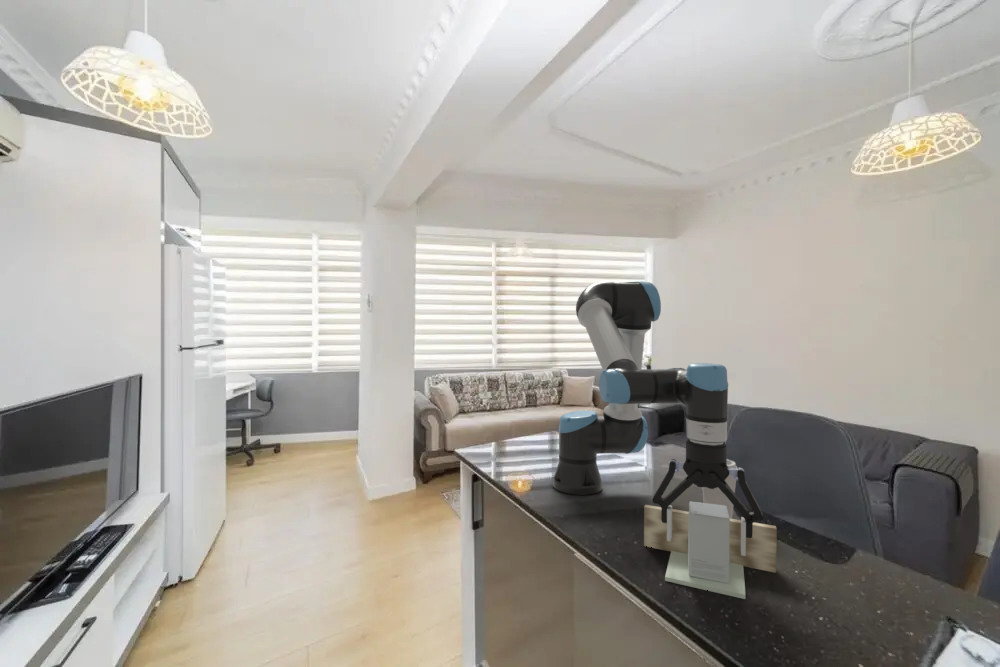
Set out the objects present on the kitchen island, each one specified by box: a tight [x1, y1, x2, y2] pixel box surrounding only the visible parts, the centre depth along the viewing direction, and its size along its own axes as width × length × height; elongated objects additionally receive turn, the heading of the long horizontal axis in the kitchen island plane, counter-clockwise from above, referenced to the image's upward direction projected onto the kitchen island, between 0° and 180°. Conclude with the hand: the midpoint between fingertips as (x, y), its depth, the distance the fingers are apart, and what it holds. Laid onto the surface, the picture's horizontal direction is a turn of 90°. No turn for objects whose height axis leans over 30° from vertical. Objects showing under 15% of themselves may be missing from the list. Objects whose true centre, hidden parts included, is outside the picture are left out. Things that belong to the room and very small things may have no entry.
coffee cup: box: [701, 458, 738, 519], centre depth 121 cm, size 10×10×15 cm
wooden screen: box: [643, 504, 778, 573], centre depth 100 cm, size 26×2×9 cm, turn 64°
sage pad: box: [664, 551, 746, 600], centre depth 93 cm, size 14×12×1 cm
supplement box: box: [688, 500, 730, 583], centre depth 93 cm, size 7×7×13 cm
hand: (705, 545), depth 93 cm, fingers open, 13 cm apart
